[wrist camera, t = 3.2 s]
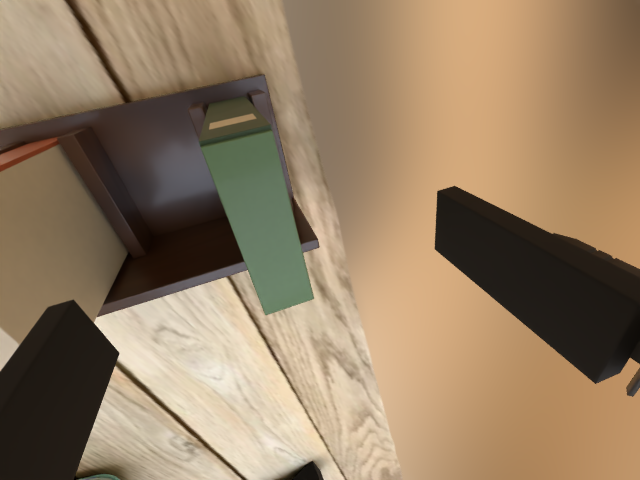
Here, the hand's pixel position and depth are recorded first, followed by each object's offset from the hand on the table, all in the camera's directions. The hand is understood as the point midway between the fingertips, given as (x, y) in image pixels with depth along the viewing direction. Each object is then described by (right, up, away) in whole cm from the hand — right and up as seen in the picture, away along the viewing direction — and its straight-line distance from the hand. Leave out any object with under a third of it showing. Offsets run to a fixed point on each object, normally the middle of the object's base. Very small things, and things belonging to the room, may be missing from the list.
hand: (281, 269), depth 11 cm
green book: (-5, +8, +13) cm, 16 cm away
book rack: (-11, +7, +13) cm, 19 cm away
